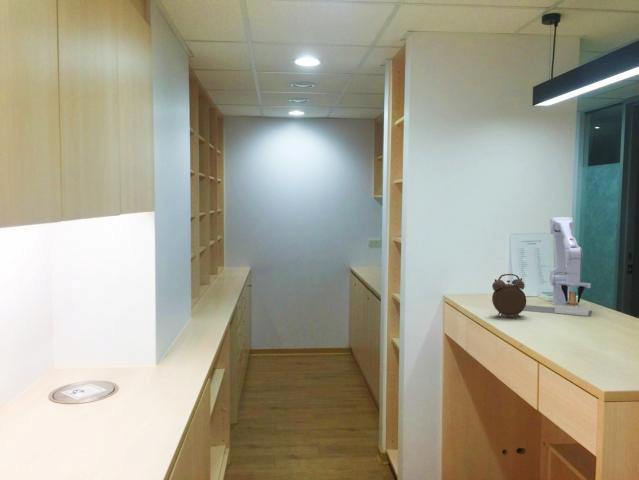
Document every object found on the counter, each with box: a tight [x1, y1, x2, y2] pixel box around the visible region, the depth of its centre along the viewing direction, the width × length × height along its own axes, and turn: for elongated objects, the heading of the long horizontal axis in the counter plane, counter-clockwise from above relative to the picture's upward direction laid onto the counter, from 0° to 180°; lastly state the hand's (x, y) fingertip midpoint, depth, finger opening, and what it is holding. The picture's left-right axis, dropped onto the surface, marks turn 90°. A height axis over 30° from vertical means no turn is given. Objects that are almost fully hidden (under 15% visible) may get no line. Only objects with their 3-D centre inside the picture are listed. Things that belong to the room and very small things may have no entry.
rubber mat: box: [522, 304, 593, 318], centre depth 252 cm, size 14×30×1 cm, turn 60°
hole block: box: [554, 300, 591, 317], centre depth 248 cm, size 12×14×4 cm
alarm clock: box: [491, 273, 527, 318], centre depth 242 cm, size 15×7×20 cm, turn 84°
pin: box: [568, 290, 577, 305], centre depth 248 cm, size 3×3×10 cm
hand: (572, 301), depth 248 cm, fingers open, 4 cm apart
